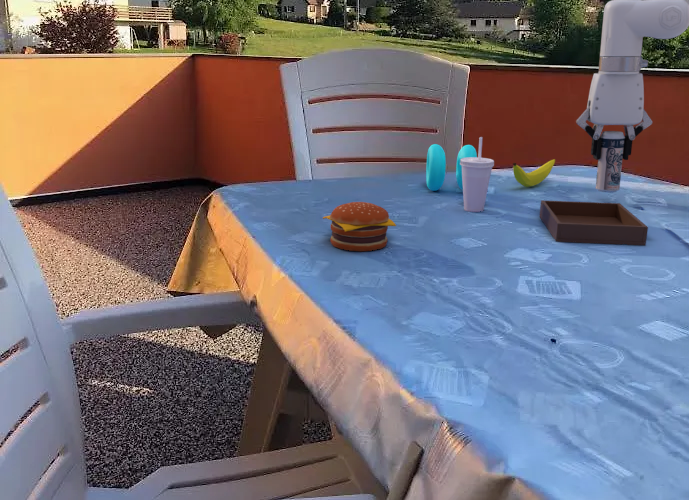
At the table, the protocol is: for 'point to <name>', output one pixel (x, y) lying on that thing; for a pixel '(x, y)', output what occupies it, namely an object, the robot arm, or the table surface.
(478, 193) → the smoothie
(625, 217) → the tray
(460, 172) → the donuts
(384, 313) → the table surface
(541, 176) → the banana
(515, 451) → the table surface
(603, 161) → the beer can
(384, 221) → the hamburger
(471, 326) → the table surface
